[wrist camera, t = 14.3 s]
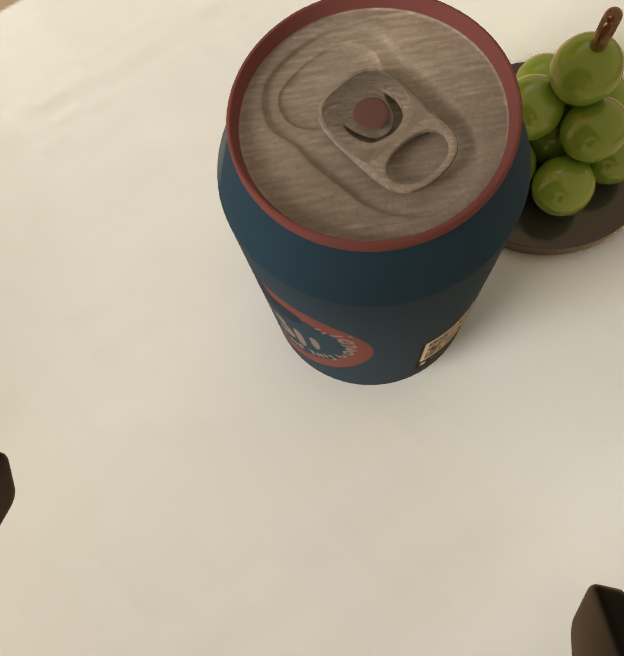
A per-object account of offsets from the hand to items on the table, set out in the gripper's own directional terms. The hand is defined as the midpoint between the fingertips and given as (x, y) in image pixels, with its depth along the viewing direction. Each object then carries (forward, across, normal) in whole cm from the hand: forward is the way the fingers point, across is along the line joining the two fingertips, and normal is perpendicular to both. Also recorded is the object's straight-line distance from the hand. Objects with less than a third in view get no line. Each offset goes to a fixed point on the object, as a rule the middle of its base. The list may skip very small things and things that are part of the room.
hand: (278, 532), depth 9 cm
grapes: (+20, -6, -2) cm, 20 cm away
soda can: (+15, 0, +4) cm, 15 cm away
